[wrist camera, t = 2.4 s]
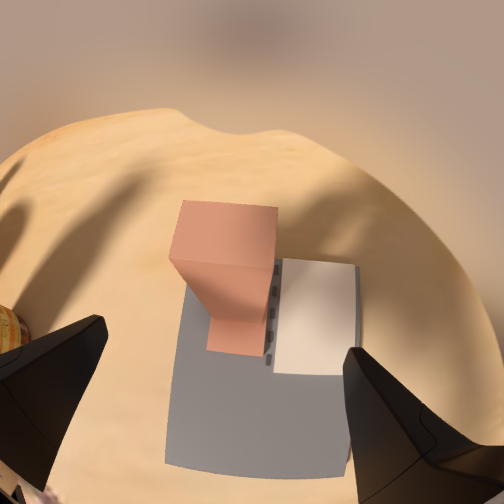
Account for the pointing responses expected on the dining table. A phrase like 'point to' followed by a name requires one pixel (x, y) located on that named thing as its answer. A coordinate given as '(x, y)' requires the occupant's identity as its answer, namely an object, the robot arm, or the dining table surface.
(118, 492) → the dining table surface
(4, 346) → the sauce bottle
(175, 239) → the stub
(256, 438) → the ticket board
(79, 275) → the dining table surface
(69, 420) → the robot arm
